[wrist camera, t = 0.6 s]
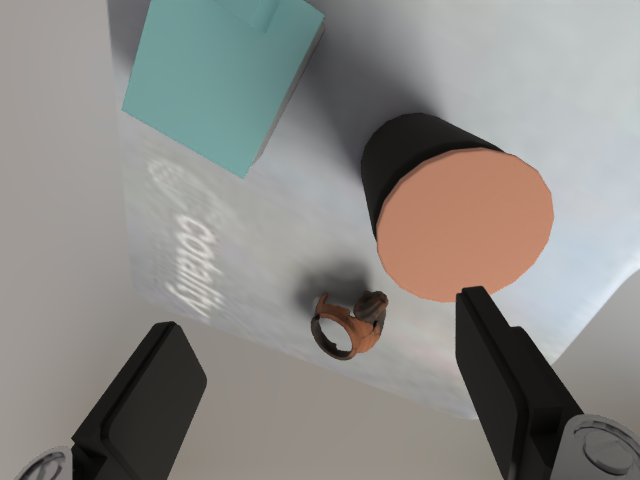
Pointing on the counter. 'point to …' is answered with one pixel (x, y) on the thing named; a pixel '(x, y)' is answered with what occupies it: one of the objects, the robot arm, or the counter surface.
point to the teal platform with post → (219, 72)
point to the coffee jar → (451, 208)
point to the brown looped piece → (352, 323)
